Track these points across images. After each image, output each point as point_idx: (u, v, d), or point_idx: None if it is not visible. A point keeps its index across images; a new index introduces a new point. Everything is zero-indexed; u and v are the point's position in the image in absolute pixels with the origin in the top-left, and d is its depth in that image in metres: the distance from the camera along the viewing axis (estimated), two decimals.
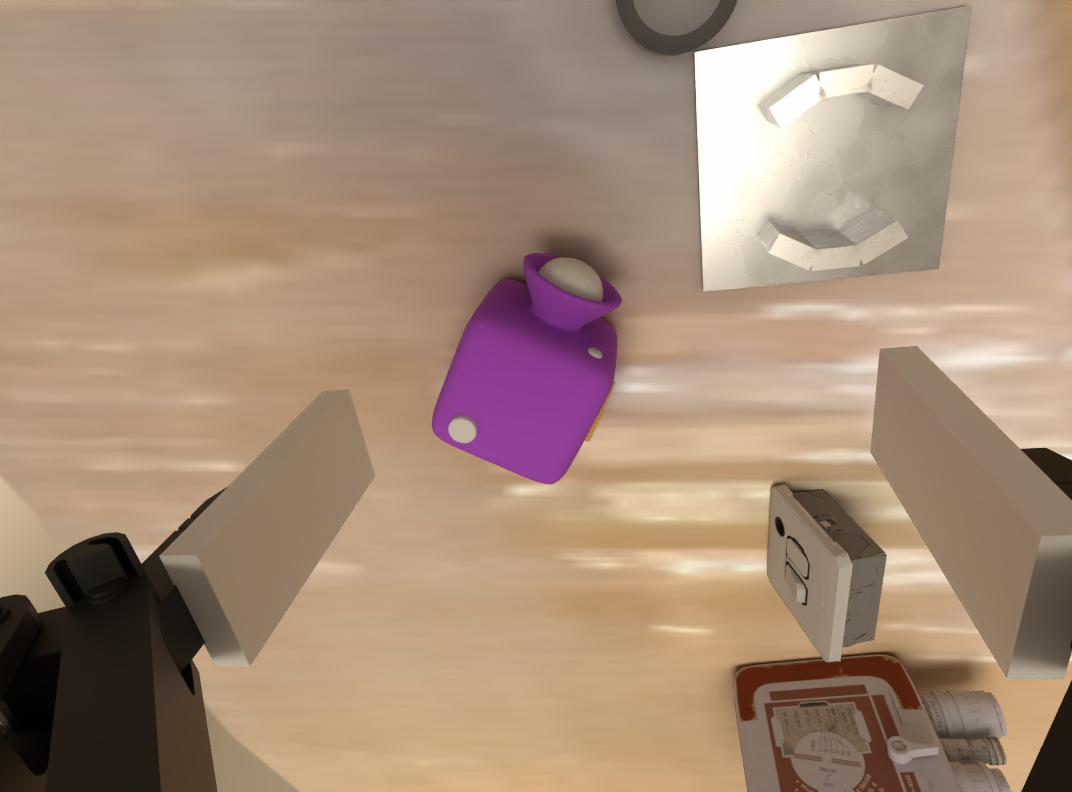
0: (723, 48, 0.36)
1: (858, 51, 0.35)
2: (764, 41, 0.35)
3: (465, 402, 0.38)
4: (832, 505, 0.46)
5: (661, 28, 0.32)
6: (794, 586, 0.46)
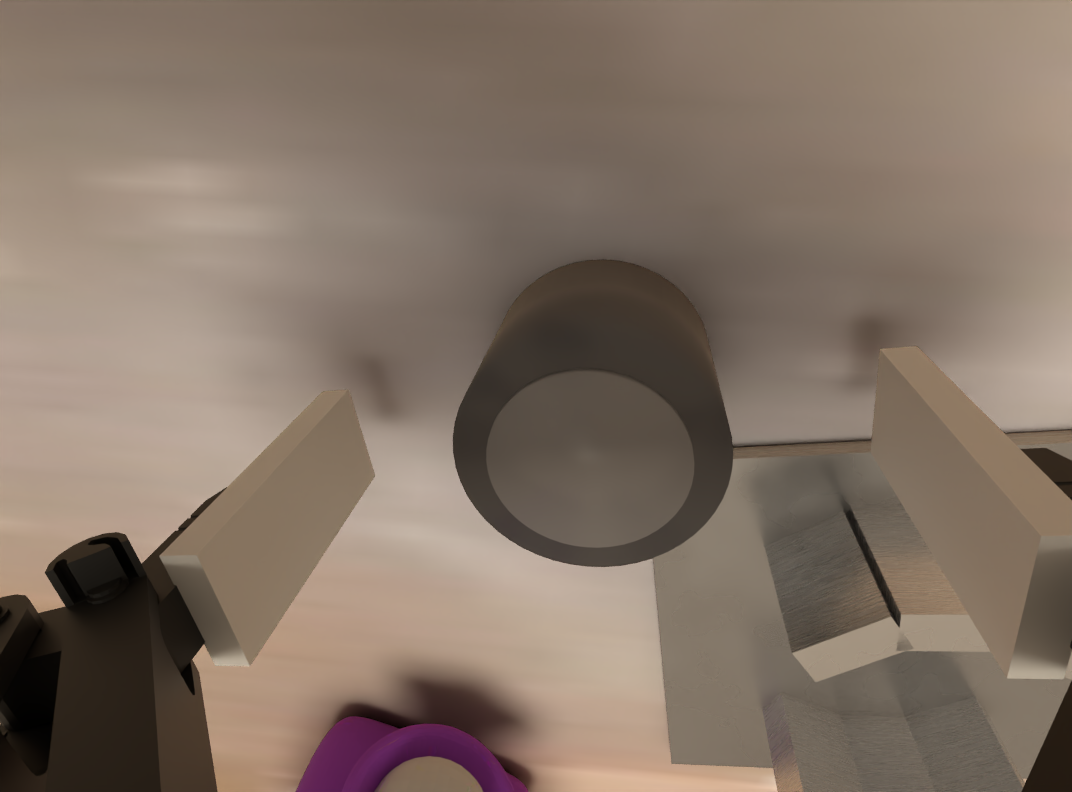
0: None
1: None
2: (779, 458, 0.18)
3: None
4: None
5: (558, 533, 0.14)
6: None
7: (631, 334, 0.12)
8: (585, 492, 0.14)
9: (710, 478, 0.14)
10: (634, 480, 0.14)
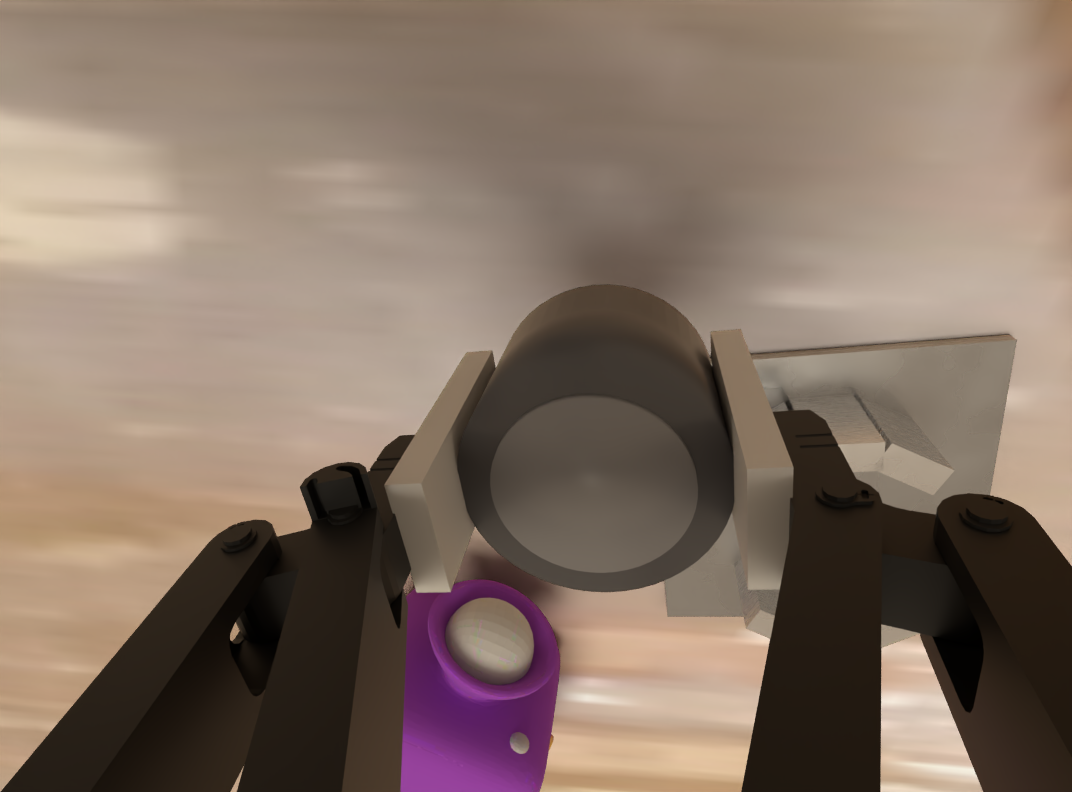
0: None
1: (863, 381, 0.26)
2: None
3: None
4: None
5: (562, 558, 0.14)
6: None
7: (635, 360, 0.13)
8: (588, 517, 0.14)
9: (714, 504, 0.14)
10: (638, 505, 0.14)
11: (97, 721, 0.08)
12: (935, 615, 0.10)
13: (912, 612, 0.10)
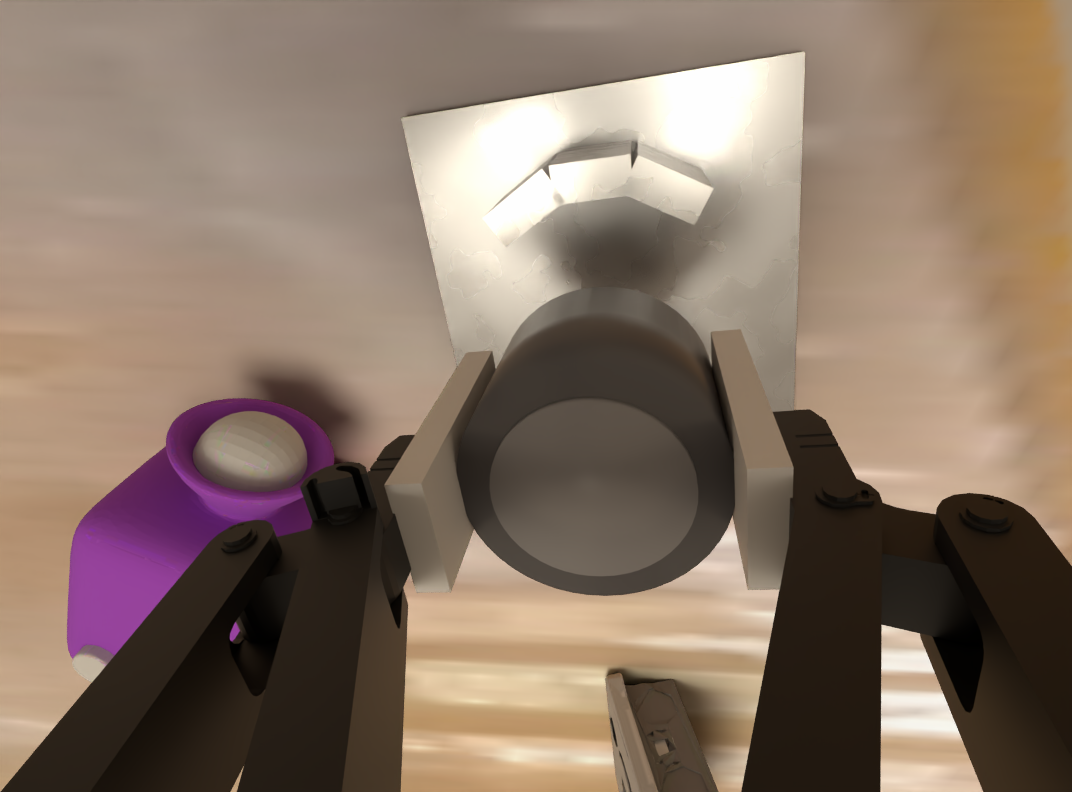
0: (441, 113, 0.23)
1: (641, 120, 0.22)
2: (499, 103, 0.23)
3: (90, 631, 0.26)
4: (677, 712, 0.34)
5: (561, 562, 0.14)
6: None
7: (636, 363, 0.12)
8: (588, 521, 0.14)
9: (715, 507, 0.13)
10: (638, 509, 0.13)
11: (97, 721, 0.08)
12: (935, 616, 0.10)
13: (913, 611, 0.10)
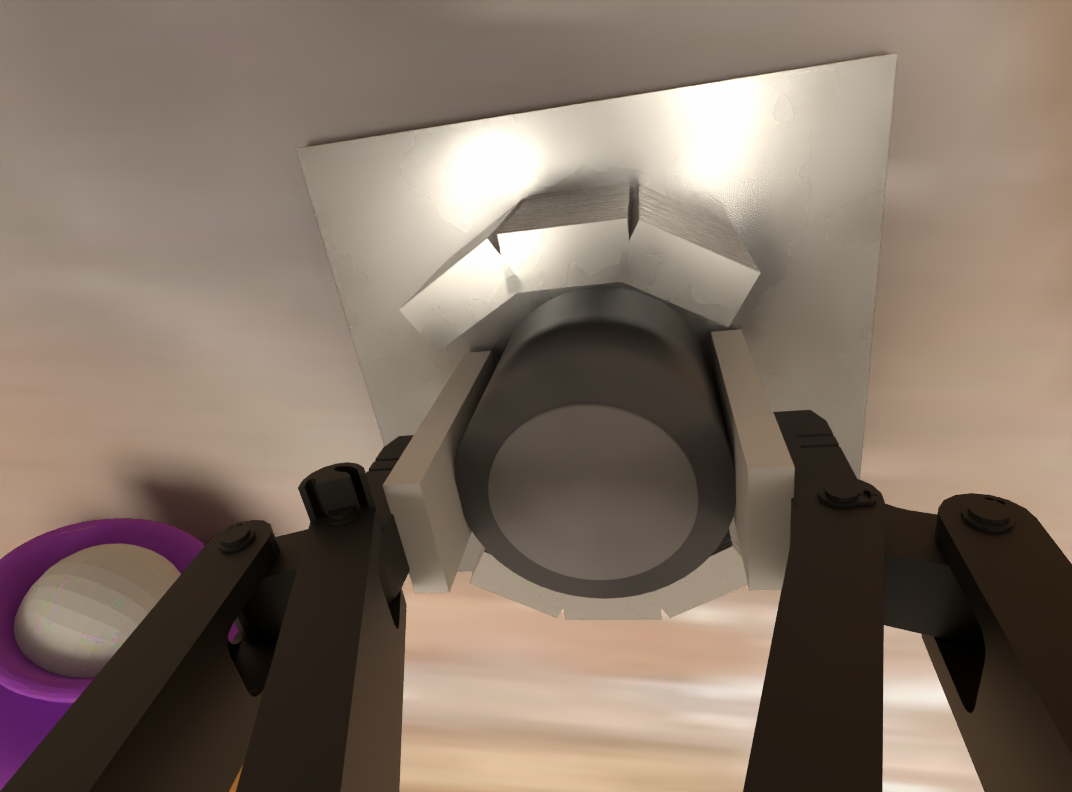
0: (353, 142, 0.16)
1: (643, 155, 0.15)
2: (436, 129, 0.15)
3: None
4: None
5: (560, 566, 0.14)
6: None
7: (635, 369, 0.12)
8: (588, 526, 0.14)
9: (714, 512, 0.13)
10: (637, 514, 0.13)
11: (95, 722, 0.08)
12: (937, 616, 0.10)
13: (915, 612, 0.10)
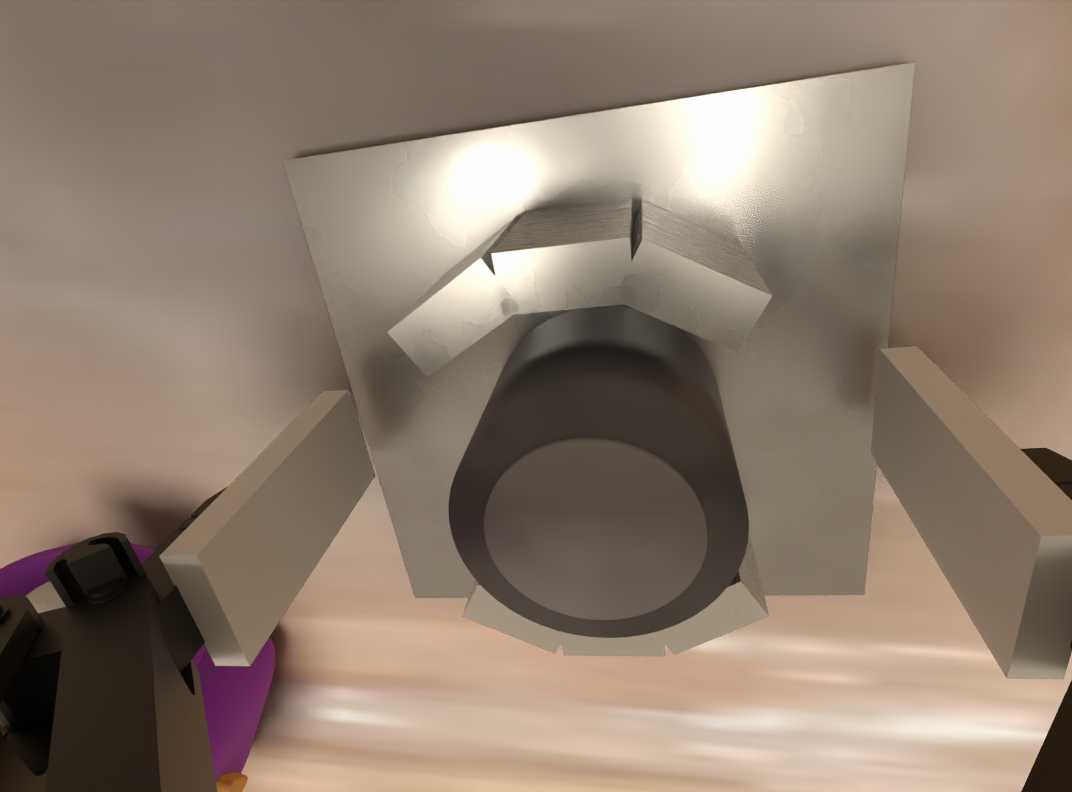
0: (342, 154, 0.15)
1: (647, 168, 0.14)
2: (429, 141, 0.15)
3: None
4: None
5: (560, 605, 0.14)
6: None
7: (640, 401, 0.12)
8: (590, 563, 0.13)
9: (724, 550, 0.13)
10: (642, 552, 0.13)
11: None
12: None
13: None
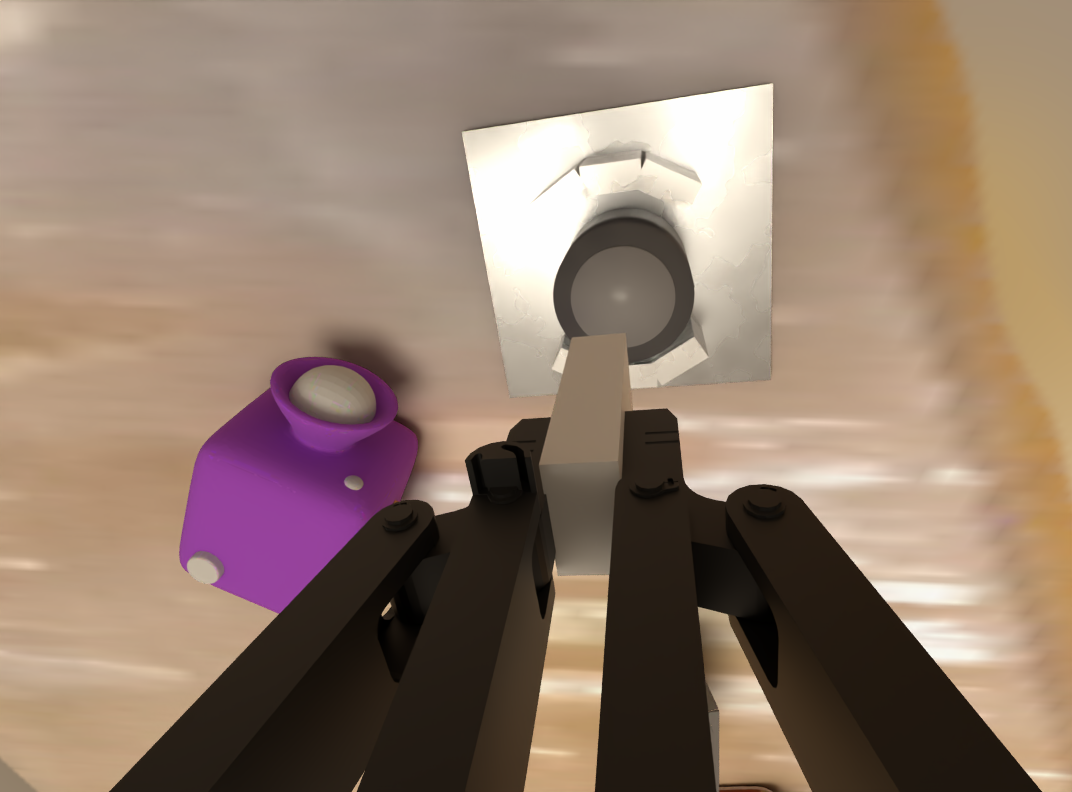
0: (493, 128, 0.30)
1: (648, 134, 0.29)
2: (539, 121, 0.29)
3: (203, 538, 0.32)
4: None
5: None
6: None
7: (647, 228, 0.26)
8: (620, 314, 0.27)
9: (683, 307, 0.27)
10: (645, 306, 0.27)
11: (248, 688, 0.08)
12: (727, 595, 0.11)
13: (710, 592, 0.11)
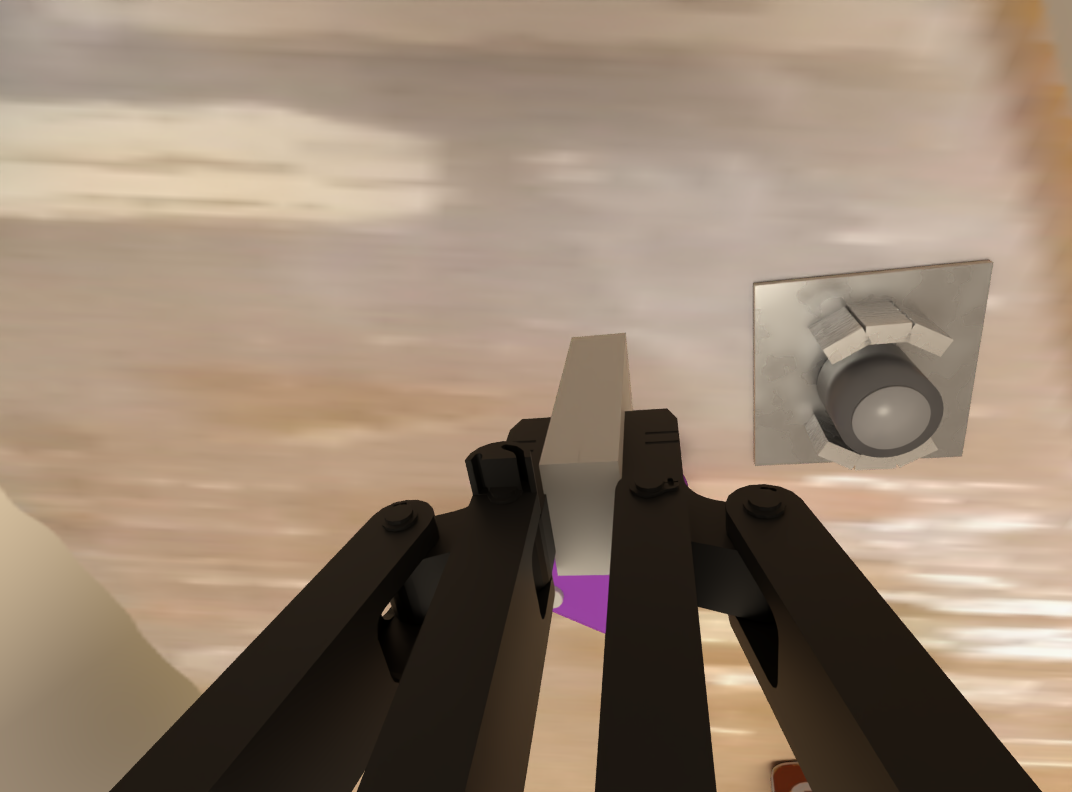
0: (780, 284, 0.42)
1: (896, 291, 0.41)
2: (815, 280, 0.41)
3: (553, 576, 0.44)
4: None
5: (869, 442, 0.40)
6: None
7: (921, 376, 0.38)
8: (886, 428, 0.39)
9: (930, 427, 0.39)
10: (905, 425, 0.39)
11: (248, 688, 0.08)
12: (727, 595, 0.11)
13: (710, 592, 0.11)
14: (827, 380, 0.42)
